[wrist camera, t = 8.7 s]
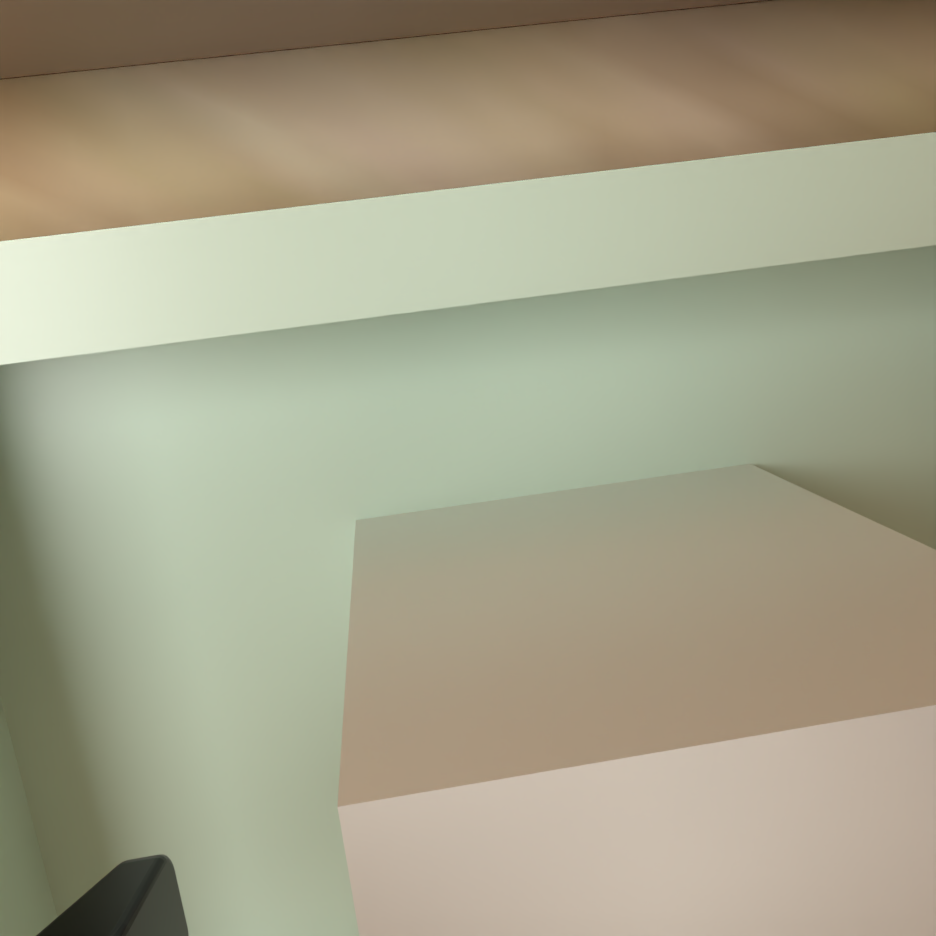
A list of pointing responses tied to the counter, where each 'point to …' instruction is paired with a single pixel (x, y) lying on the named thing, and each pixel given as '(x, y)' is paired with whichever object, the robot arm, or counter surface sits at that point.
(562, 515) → the stone block
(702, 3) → the bin
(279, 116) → the counter surface
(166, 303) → the bin
